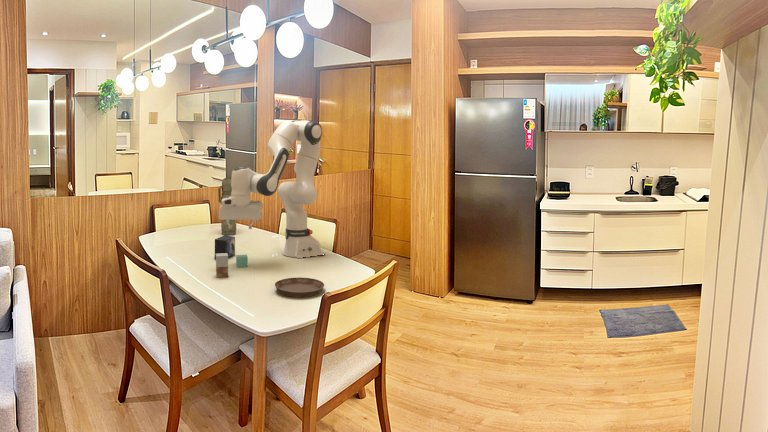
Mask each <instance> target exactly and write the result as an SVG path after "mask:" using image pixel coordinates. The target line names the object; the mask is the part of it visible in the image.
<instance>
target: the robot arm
mask: <svg viewBox="0 0 768 432" xmlns="http://www.w3.org/2000/svg"><path fill="white" fill-rule="evenodd" d="M322 136H323V128H322V126H321V124H320V123H319V122H317V121H315V120H307V119H306V120H305V119H301V120H292V121H291V120H289V119H288V120H284V121H282V122H281V123H280V124H279V126H277V128H276V129H275V130H274V132H273V133H272V134H271V136H270V138H269V140H268V143H267V149H268V151H269V153H271V155H272V156H273V157H274V159H273V161H272V163H271V166H270V168H269V170H268V172H267V173H263V174H262V173H259V172H256V171H254V170H252V169H251V168H250V167H249V166H246V165H245V166H237V167H235V168H233V170H232V172H231V177H230V178H231V186H232V192H231V197H227V198H224V199H222V201H221V202H222V204H221V203H220V206H219V208H218V209H219V210H218V219H219V220H221V221H222V220H226V222H227V224H228V225H229V226H228V228H229V229H232V225H230V224H229V220H235V221H237V220H240V221H242V220H243V221H247V220H248V221H249V220H250V221H251V223H250V224H248V229H249V230H252V228H253V225H254V224H255V221H260V220H262V218H263V213H262V210H263V207H264V206H263V205H264V204H263V203H262V201H260V200H251V193H255V194H259V195H262V196H265V197H270V196H272V195H274V194H275V193H276V192H277V195H278V197H279V198H280V199H281V201H282V203H283V206H284V210H285V215H286V217H285V219H286V220H285V221H286V224H285V225H286V227H285V231H284V236H285V237H284V238H285V245H284V248H283V249H284V250H283V252H282V254H283V256H286V257H291V258H296V259H303V257H306V258H311V257H310V256H316V257H318V256H317V255H323V254H325V255H326V251H325V250H324V249H322V246H321V243H320V242H319V240H317V238H315V237H314V236H313V235H312V234H313V233H314V232H313V230H312V229H310V228H308V213H307V212H306V210H305V209H304V207H303V205H311V204H313V203H315V201H316V200H317V197H318V192H317V189H316V186H315V181H314V180H315V179H314V178H315V173H316V169H317V165H318V162H319V159H320V154H321V148H322V147H321V145H322V144H321V143H320V141H321V139H322ZM295 141H296V142H300V148H299V151H298V153H297V156H296V161H295V164H294V166H293V171H294V172H295V175H296V179H295V180H296V181H291V180H290V181H289V180H288V181H284V182H281V183H280V179H281V176H282V174H283V173H284V172H283V171H284V170H285V167H286V165H287V163H288V161H289V158H290V150H291V148H292V146H293V145H294V143H295ZM279 183H280V184H279Z"/></svg>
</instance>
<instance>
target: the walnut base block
mask: <svg viewBox="0 0 768 432" xmlns="http://www.w3.org/2000/svg"><path fill="white" fill-rule="evenodd" d="M215 272H216V273H215V275H216V278H217V279H218V278H219V279H221V278H229V266H228V267H216V266H215Z"/></svg>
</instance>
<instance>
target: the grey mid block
mask: <svg viewBox="0 0 768 432" xmlns="http://www.w3.org/2000/svg"><path fill="white" fill-rule="evenodd" d="M216 267H228V268H229V258H228V254H227V253H218V254H216V259H215V268H216Z"/></svg>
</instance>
